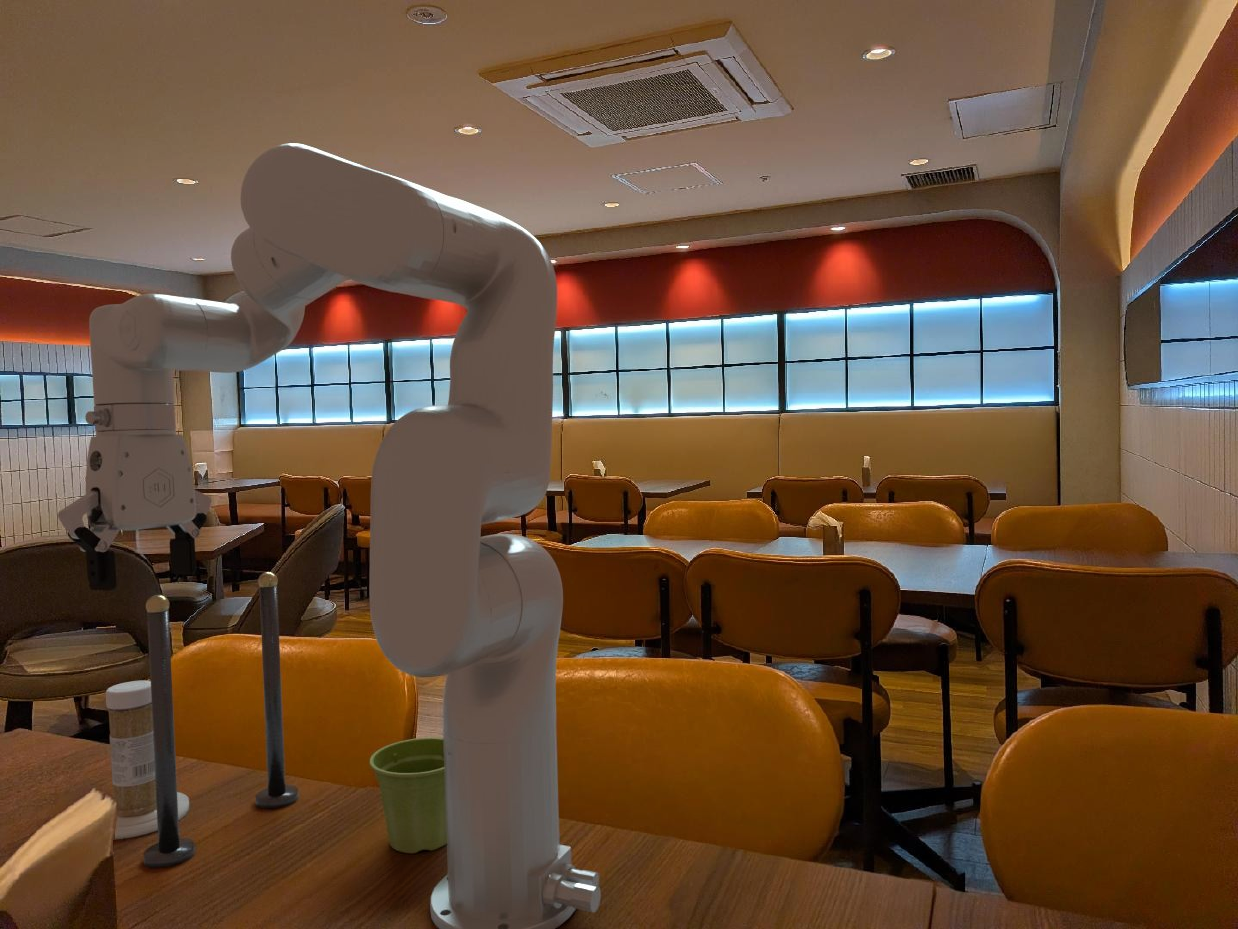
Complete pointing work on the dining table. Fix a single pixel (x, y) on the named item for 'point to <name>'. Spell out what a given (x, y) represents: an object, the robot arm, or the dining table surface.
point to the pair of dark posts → (169, 843)
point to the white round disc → (146, 820)
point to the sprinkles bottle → (132, 747)
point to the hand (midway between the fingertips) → (145, 581)
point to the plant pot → (413, 793)
